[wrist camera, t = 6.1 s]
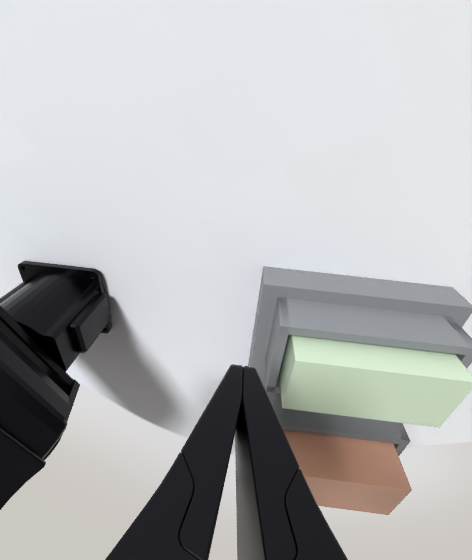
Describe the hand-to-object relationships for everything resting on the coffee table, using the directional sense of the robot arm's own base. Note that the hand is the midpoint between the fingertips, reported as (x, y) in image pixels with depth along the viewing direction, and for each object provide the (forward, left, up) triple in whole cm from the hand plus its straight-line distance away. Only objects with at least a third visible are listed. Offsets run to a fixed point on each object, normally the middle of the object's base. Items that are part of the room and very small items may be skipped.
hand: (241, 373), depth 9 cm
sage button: (+8, -6, -9) cm, 13 cm away
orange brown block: (+8, -16, -7) cm, 19 cm away
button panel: (+8, -11, -12) cm, 18 cm away
